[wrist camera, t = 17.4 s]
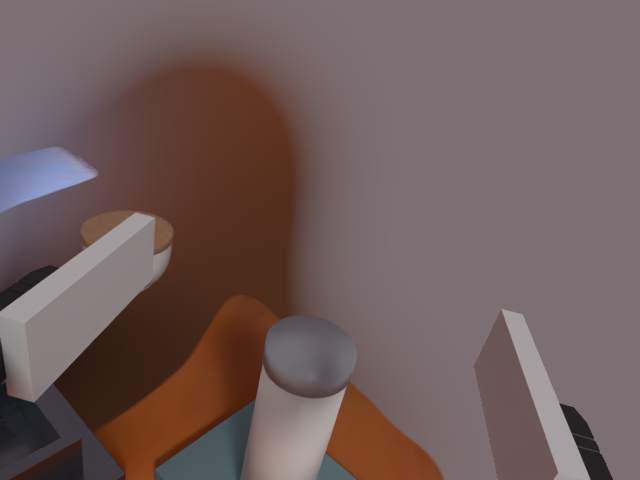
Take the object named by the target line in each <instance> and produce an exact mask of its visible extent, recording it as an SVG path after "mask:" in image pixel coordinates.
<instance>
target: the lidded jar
mask: <svg viewBox="0 0 640 480" xmlns="http://www.w3.org/2000/svg"><path fill="white" fill-rule="evenodd" d="M134 213H140V214H144V215H147V216H151V217H155V234H154V257H153V279H152V280H151V281H150V282H149V283H148V284H147V285H146V286H145V287H144V288H143V289H142V290H141V291H143V290H146V289H147V288H148V287H150V286H151V284H153V283H154V282H155V281H157V280H158V279H159V278H160V277H161V275H162V274H163V273H164V271H165V270H166V268H167V266H168V263H169V260H170V255H171V249H172V241H173V235H174V232H173V228H172V226H171V225H170V224H169V223H168V222H167V221H165V220H164V219H162V218H160V217H158V216H156V215H153V214H149V213H145V212H138V211H112V212H107V213H103V214H99V215H96V216H94V217H92V218H90V219H89V220H87V221H86V222H85V223H84V224H83V225H82V227H81V231H80V236H81V241H82V250H83V251H84V250H85V249H86V248H88V247H89V246H91V245H92V244H93V243H95V242H96V241H97V240H99V239H100V238H101V237H103V236H104V235H106V234H107V233H108V232H110V231H111V230H112V229H114V228H115V227H117V226H118V225H119V224H121V223H122V222H123V221H125V220H126V219H127V218H129V217H130V216H132V215H133V214H134ZM141 291H140V292H141Z"/></svg>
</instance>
